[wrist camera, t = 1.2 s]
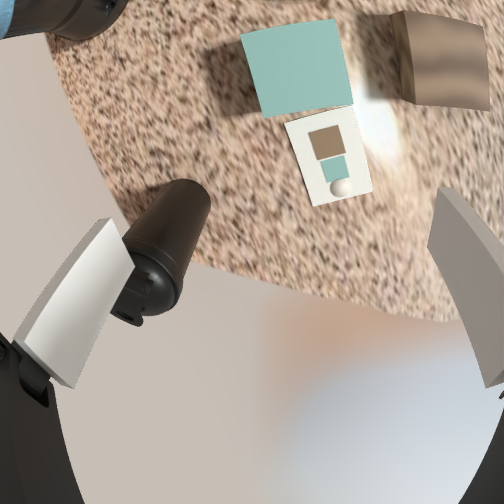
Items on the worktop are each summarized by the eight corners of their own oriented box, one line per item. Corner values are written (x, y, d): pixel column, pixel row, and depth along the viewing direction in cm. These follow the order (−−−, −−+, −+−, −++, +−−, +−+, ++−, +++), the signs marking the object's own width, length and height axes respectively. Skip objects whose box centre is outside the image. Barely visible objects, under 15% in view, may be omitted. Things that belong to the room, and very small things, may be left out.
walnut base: (390, 14, 24) (403, 10, 20) (464, 27, 22) (482, 26, 18) (402, 99, 32) (416, 105, 28) (472, 104, 29) (489, 111, 25)
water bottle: (151, 212, 49) (86, 309, 31) (168, 163, 43) (89, 253, 25) (202, 236, 51) (159, 344, 33) (225, 190, 45) (181, 298, 27)
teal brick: (246, 38, 30) (239, 34, 25) (327, 25, 28) (334, 18, 23) (266, 110, 36) (263, 118, 32) (344, 98, 34) (353, 104, 29)
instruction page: (284, 123, 37) (284, 123, 37) (351, 105, 34) (352, 105, 34) (312, 206, 45) (313, 206, 44) (372, 190, 41) (373, 191, 41)
